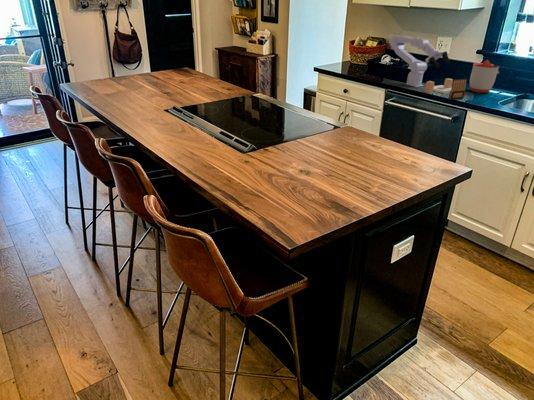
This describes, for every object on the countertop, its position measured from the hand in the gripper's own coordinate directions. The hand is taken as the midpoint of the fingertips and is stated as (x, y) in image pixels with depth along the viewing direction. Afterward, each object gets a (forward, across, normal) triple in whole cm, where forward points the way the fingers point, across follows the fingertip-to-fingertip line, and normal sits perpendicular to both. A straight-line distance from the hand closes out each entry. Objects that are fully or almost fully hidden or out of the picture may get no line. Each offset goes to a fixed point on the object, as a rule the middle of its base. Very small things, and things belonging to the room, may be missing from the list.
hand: (443, 64), depth 267 cm
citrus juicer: (+14, +25, +24) cm, 37 cm away
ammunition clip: (+23, -5, +8) cm, 25 cm away
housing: (+4, +1, +19) cm, 20 cm away
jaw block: (+6, -12, +14) cm, 19 cm away
